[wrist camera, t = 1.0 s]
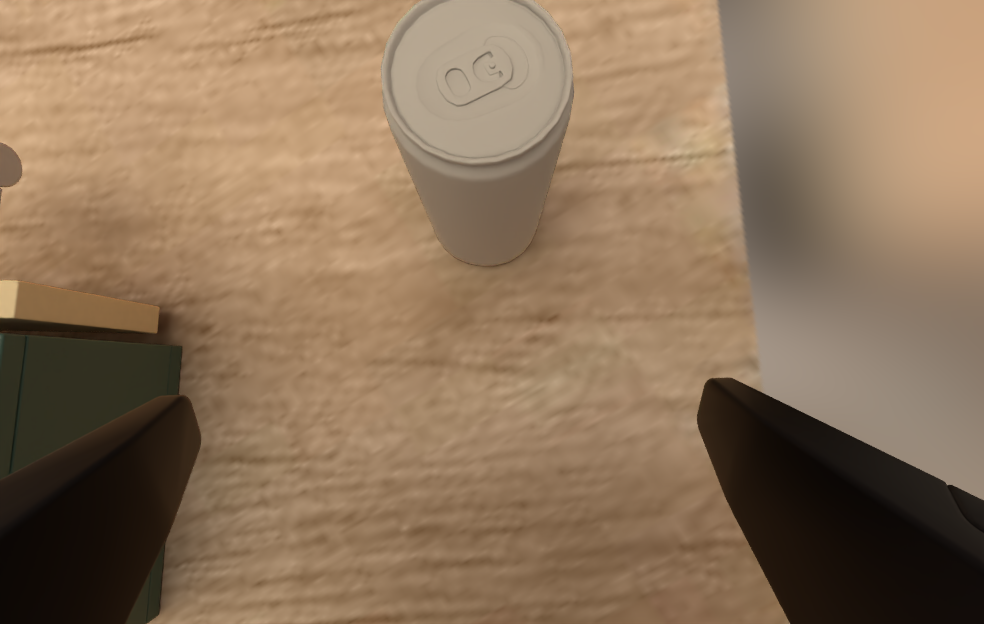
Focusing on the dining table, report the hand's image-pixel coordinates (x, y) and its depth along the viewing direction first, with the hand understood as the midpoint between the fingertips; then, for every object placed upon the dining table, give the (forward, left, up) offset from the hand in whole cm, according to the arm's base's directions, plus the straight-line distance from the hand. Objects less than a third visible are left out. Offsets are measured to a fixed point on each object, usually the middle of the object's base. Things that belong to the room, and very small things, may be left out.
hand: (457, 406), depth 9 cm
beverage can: (+8, 0, -14) cm, 16 cm away
